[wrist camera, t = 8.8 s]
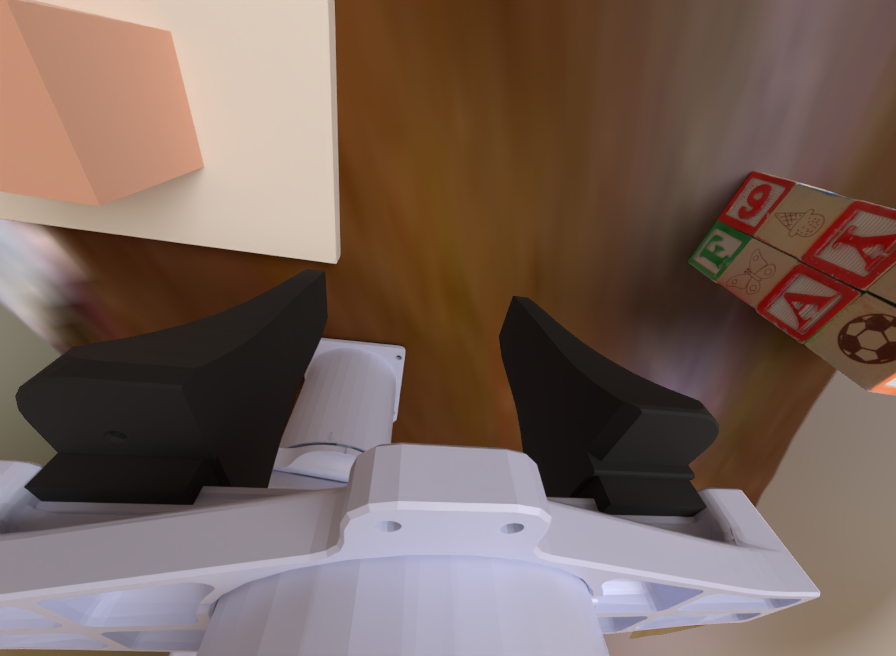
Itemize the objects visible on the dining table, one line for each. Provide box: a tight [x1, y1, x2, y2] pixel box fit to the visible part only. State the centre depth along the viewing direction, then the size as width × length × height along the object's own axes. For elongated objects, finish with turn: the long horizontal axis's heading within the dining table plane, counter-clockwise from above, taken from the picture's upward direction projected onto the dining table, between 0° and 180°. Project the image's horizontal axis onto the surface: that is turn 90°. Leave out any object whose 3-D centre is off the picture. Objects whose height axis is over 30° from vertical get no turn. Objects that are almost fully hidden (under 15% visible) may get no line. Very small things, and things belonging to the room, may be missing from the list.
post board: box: [0, 0, 340, 264], centre depth 13 cm, size 14×18×7 cm
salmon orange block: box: [0, 0, 204, 206], centre depth 12 cm, size 5×5×7 cm
